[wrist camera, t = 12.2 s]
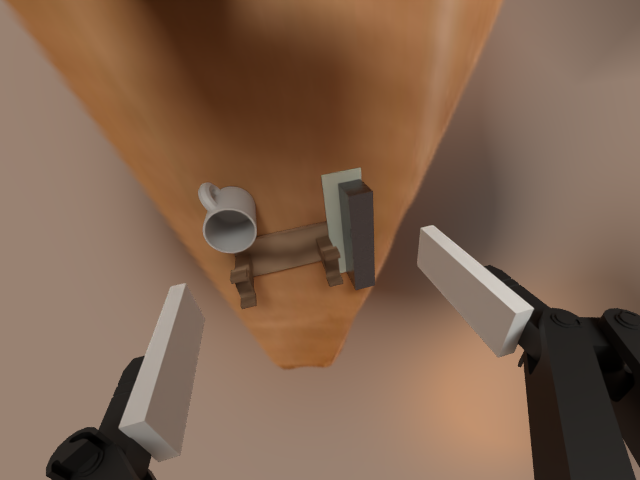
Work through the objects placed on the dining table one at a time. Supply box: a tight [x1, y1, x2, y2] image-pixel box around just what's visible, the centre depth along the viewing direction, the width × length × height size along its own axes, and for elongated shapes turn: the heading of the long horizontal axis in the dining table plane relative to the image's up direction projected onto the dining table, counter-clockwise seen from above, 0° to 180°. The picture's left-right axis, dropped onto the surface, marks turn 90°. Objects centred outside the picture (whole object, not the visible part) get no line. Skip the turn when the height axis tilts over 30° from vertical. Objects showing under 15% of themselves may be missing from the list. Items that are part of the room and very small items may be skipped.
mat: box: [321, 168, 361, 273], centre depth 52 cm, size 22×7×1 cm, turn 8°
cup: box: [198, 182, 257, 253], centre depth 40 cm, size 7×10×9 cm
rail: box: [338, 179, 375, 290], centre depth 50 cm, size 4×20×6 cm, turn 9°
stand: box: [230, 221, 343, 309], centre depth 47 cm, size 8×18×10 cm, turn 99°
